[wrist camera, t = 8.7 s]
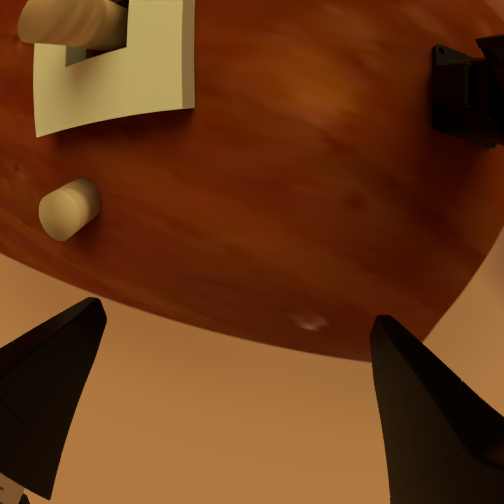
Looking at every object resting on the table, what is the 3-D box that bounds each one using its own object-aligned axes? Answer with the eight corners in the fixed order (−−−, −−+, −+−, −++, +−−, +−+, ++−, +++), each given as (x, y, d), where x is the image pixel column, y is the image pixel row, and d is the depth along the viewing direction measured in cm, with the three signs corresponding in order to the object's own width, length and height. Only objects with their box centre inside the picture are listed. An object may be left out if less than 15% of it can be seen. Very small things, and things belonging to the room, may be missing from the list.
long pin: (136, 45, 14) (61, 26, 7) (94, 57, 14) (15, 52, 7) (138, 3, 12) (70, -30, 5) (96, 17, 13) (22, -1, 6)
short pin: (97, 175, 19) (66, 192, 15) (105, 218, 21) (78, 241, 17) (65, 179, 19) (34, 196, 16) (73, 219, 21) (45, 240, 17)
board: (198, -60, 9) (189, -75, 7) (194, 107, 16) (182, 108, 14) (62, -14, 10) (44, -19, 8) (56, 131, 17) (36, 137, 15)
